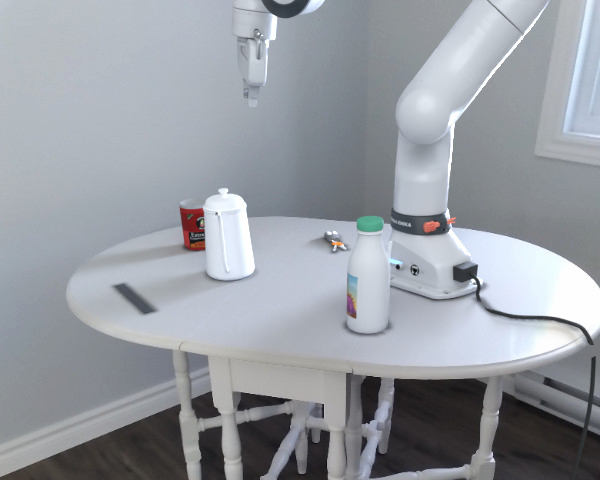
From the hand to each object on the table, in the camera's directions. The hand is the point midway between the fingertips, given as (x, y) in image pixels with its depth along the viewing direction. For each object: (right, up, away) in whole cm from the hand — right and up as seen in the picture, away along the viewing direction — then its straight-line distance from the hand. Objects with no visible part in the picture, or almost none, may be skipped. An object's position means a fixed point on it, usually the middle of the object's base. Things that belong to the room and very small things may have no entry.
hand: (249, 102), depth 134 cm
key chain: (+19, -24, +26) cm, 40 cm away
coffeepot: (-5, -34, +10) cm, 36 cm away
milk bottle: (+23, -49, -15) cm, 56 cm away
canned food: (-15, -24, +28) cm, 40 cm away
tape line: (-25, -41, 0) cm, 48 cm away
